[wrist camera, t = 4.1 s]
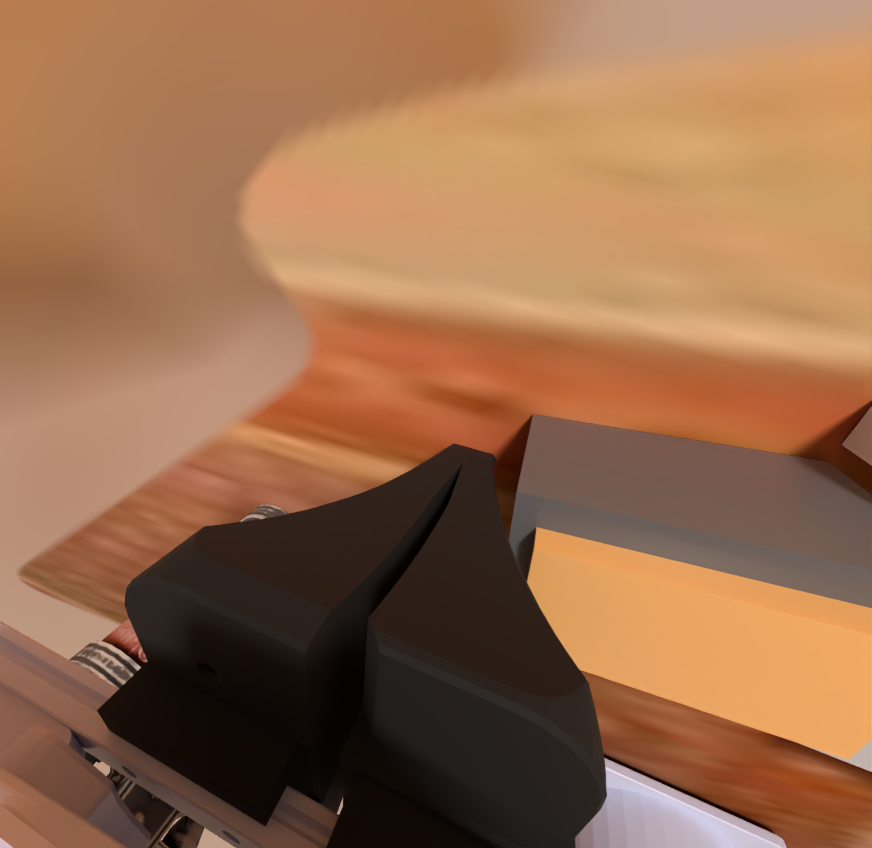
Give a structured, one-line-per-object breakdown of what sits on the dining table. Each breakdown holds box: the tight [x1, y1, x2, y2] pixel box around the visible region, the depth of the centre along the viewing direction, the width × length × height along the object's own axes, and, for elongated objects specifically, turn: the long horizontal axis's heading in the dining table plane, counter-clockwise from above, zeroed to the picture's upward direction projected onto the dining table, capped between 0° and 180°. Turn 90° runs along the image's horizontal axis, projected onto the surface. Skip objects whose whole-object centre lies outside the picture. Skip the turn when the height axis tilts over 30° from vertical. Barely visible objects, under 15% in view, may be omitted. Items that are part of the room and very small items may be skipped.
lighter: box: [69, 504, 287, 848], centre depth 13 cm, size 8×3×10 cm, turn 33°
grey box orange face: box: [509, 414, 872, 760], centre depth 9 cm, size 4×7×5 cm, turn 88°
